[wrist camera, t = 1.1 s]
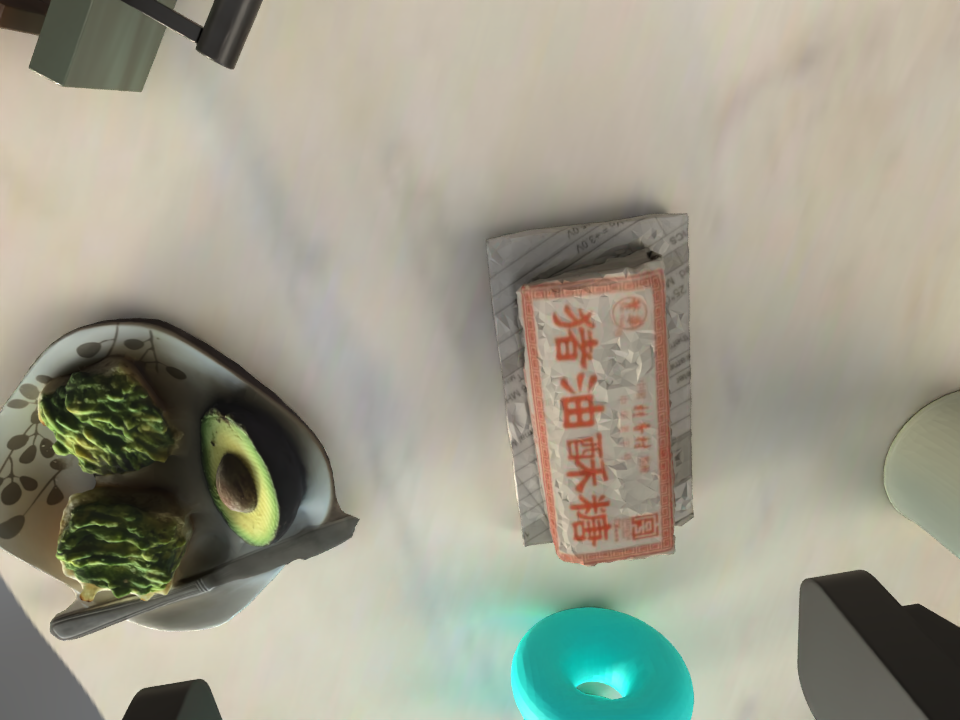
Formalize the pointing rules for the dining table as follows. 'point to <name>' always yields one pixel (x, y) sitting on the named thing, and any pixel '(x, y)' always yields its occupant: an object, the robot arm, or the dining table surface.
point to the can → (929, 471)
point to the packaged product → (597, 383)
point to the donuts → (599, 669)
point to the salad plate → (157, 479)
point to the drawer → (120, 37)
